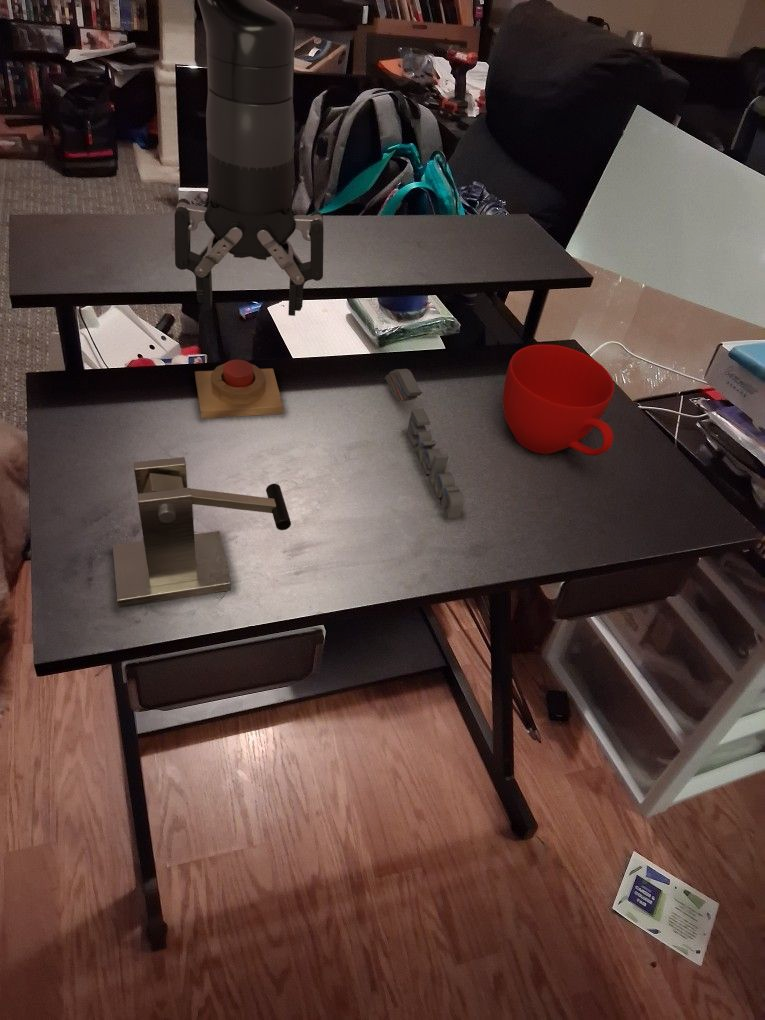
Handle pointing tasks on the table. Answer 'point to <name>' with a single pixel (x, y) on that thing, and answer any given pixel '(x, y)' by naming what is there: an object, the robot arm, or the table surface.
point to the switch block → (237, 394)
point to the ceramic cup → (556, 399)
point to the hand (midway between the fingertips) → (250, 308)
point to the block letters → (426, 444)
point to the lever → (228, 498)
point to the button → (238, 373)
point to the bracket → (168, 545)
